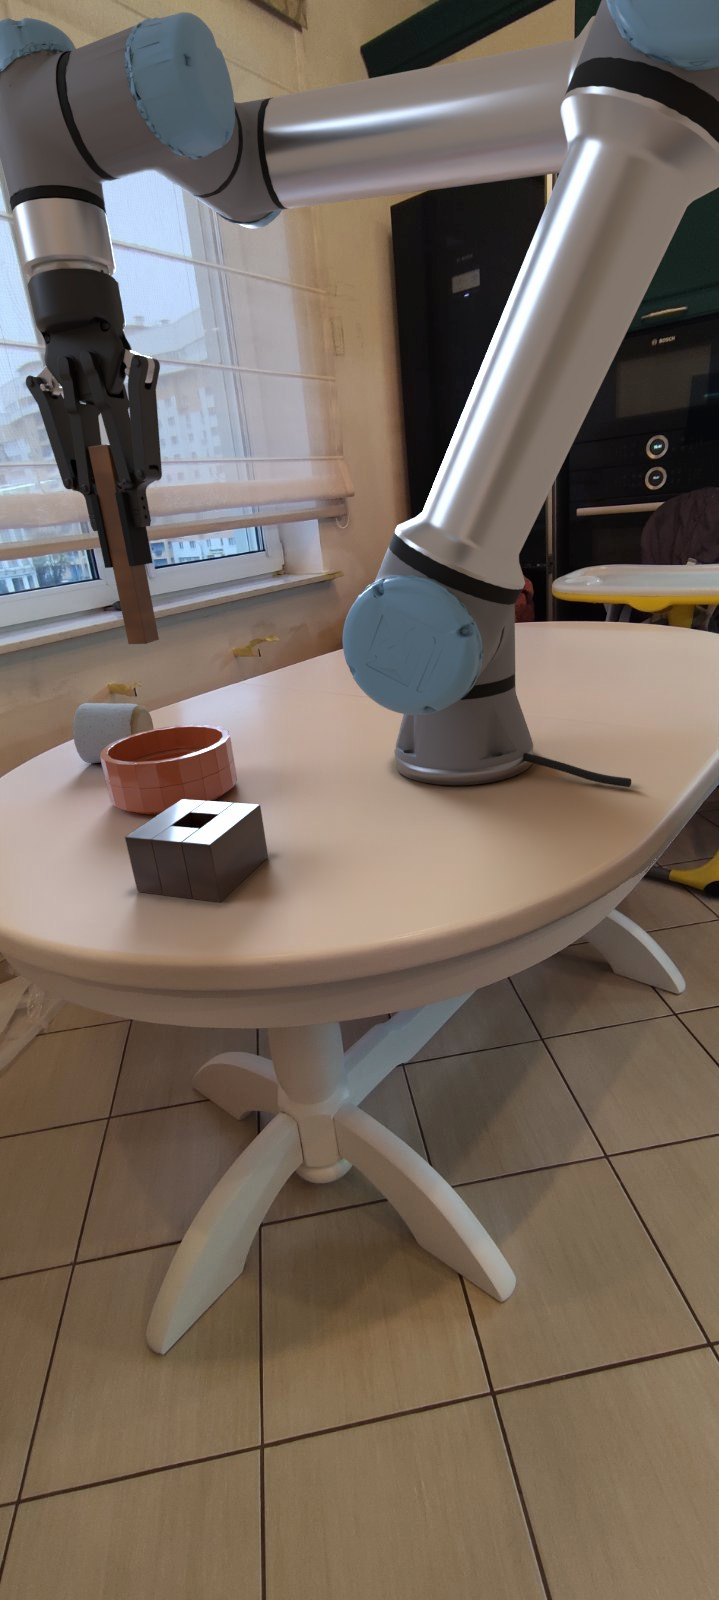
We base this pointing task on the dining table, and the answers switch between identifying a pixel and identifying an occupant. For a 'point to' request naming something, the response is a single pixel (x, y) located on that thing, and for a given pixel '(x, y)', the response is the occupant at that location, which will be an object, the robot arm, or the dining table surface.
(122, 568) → the stick
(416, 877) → the dining table surface
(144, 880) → the holder
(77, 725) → the ceramic mug
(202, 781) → the bowl
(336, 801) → the dining table surface
